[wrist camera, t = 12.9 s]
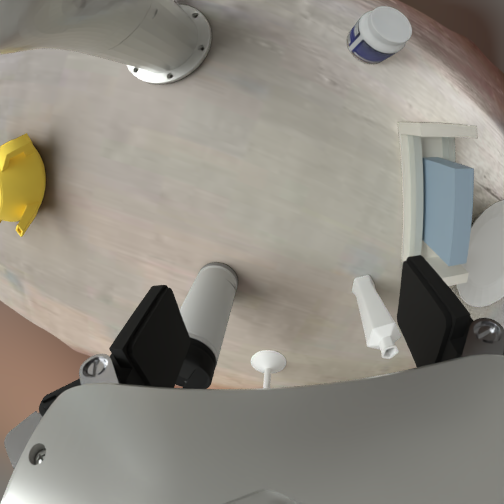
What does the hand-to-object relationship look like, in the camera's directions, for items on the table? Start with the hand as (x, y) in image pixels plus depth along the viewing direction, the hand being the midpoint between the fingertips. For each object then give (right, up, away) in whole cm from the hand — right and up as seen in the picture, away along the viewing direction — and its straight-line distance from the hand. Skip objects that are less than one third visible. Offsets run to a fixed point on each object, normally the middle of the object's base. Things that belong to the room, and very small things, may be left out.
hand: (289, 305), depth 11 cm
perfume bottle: (+16, -3, +31) cm, 35 cm away
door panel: (+24, +10, +23) cm, 35 cm away
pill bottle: (+13, +29, +17) cm, 36 cm away
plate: (+42, +2, +26) cm, 50 cm away
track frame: (+24, +10, +24) cm, 36 cm away
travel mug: (-7, -2, +33) cm, 34 cm away
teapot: (-44, +16, +29) cm, 55 cm away
